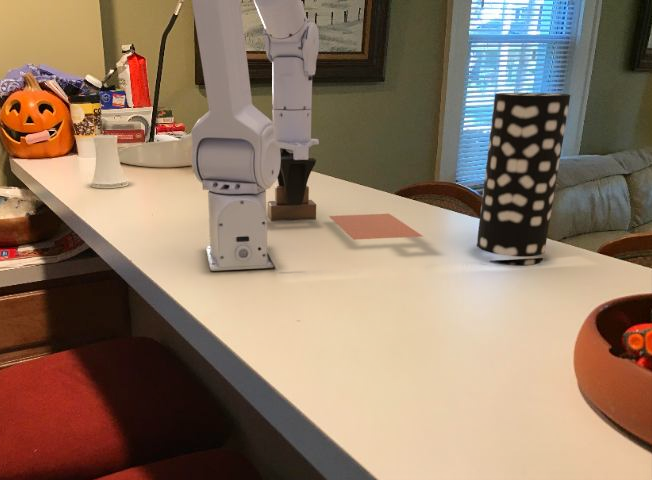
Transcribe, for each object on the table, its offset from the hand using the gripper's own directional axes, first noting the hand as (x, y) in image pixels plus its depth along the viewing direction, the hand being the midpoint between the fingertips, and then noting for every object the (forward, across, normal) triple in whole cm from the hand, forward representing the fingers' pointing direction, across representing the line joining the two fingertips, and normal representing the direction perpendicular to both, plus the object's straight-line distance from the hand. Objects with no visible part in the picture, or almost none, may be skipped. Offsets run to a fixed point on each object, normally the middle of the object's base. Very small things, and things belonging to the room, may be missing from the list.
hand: (291, 201), depth 94 cm
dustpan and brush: (+4, +64, +16) cm, 66 cm away
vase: (+4, +40, +31) cm, 51 cm away
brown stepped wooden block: (+4, 0, 0) cm, 4 cm away
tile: (+4, -7, -11) cm, 14 cm away
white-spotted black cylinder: (+4, -21, -25) cm, 33 cm away
